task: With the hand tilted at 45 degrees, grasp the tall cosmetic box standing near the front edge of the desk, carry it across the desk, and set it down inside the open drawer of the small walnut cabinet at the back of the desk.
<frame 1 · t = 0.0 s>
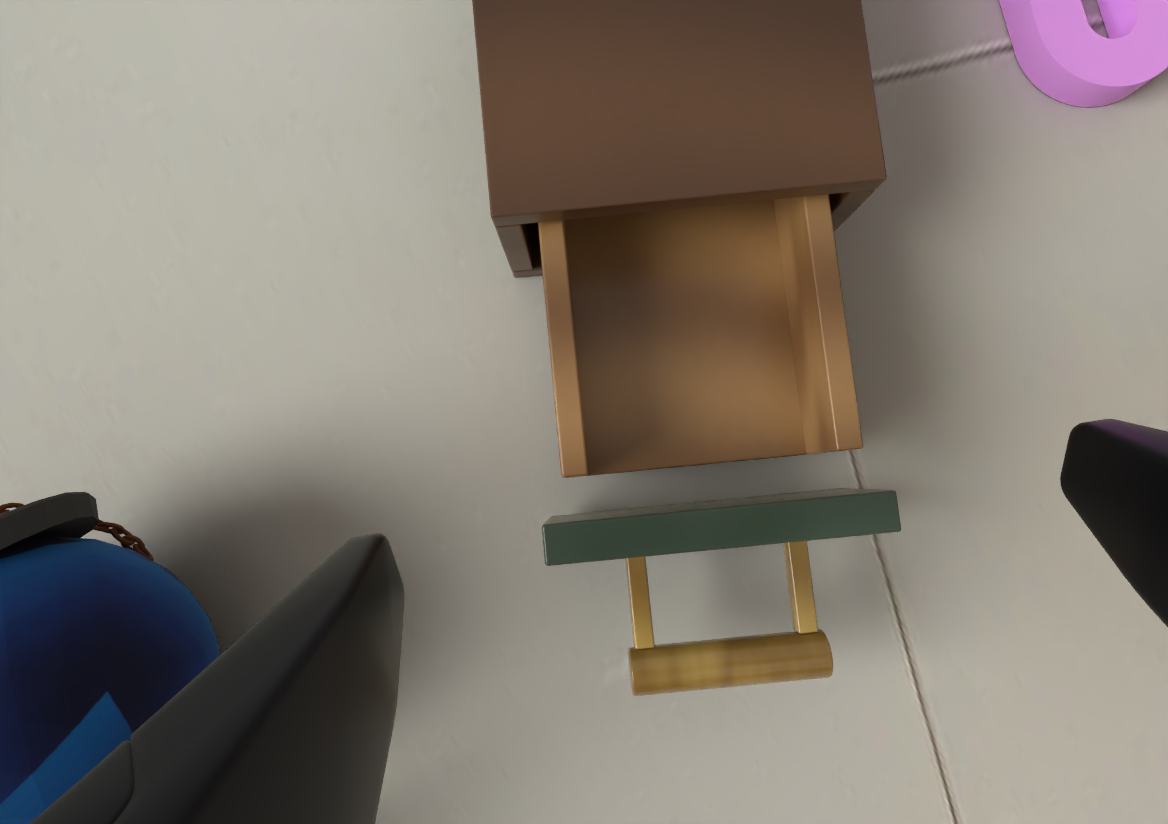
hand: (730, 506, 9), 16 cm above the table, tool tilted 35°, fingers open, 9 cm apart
drawer: (696, 415, 22), point 3 cm above the table, slide at 9.0 cm
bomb: (141, 646, 25), on the table
cabinet: (647, 94, 27), on the table
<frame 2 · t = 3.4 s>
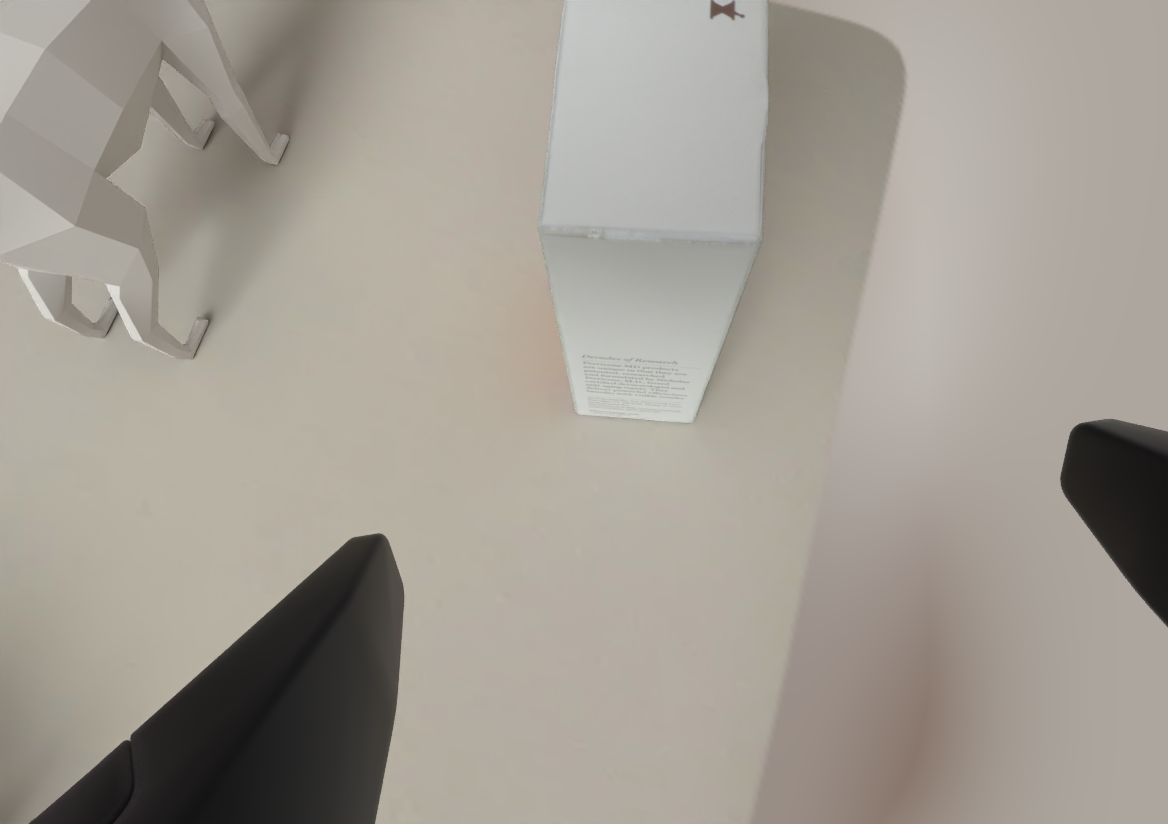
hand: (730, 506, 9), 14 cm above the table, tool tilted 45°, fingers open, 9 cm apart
cosmetic box: (638, 346, 24), on the table
cat figurine: (192, 255, 26), on the table
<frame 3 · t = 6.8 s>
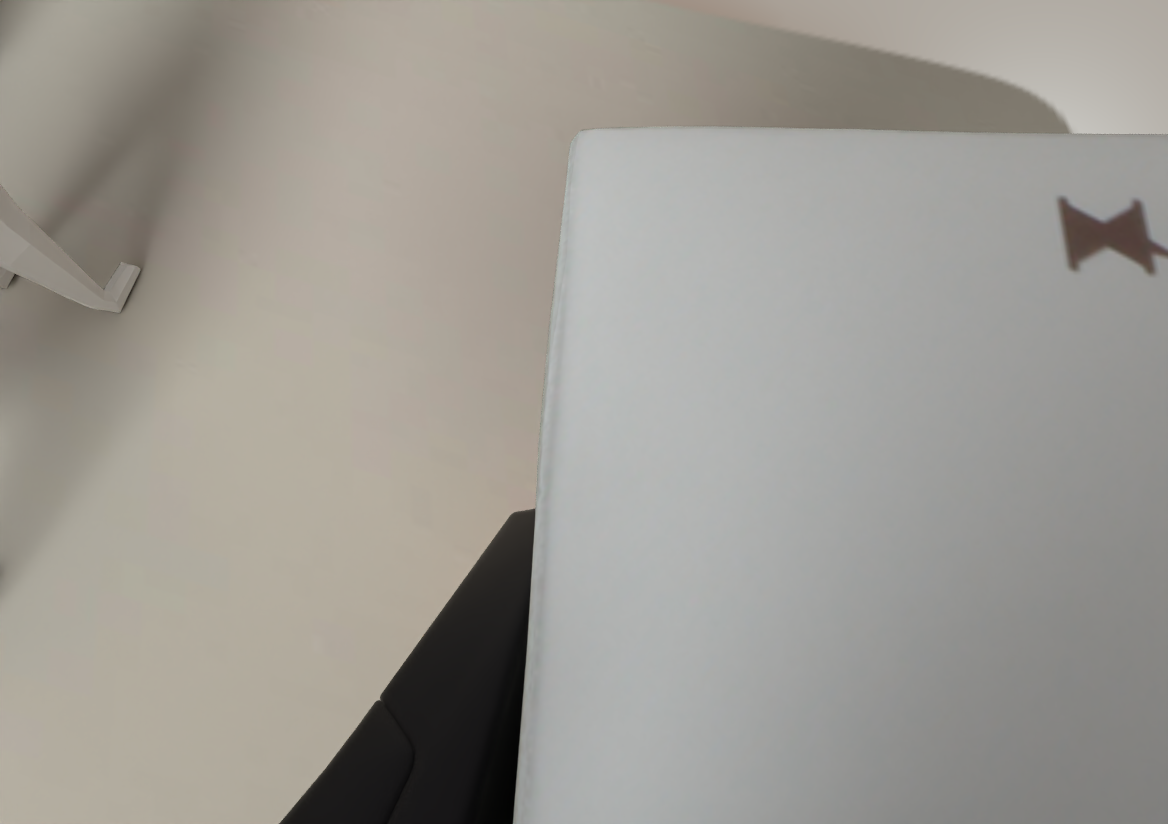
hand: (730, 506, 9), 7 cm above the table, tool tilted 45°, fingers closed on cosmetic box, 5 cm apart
cosmetic box: (690, 622, 15), on the table, touching gripper
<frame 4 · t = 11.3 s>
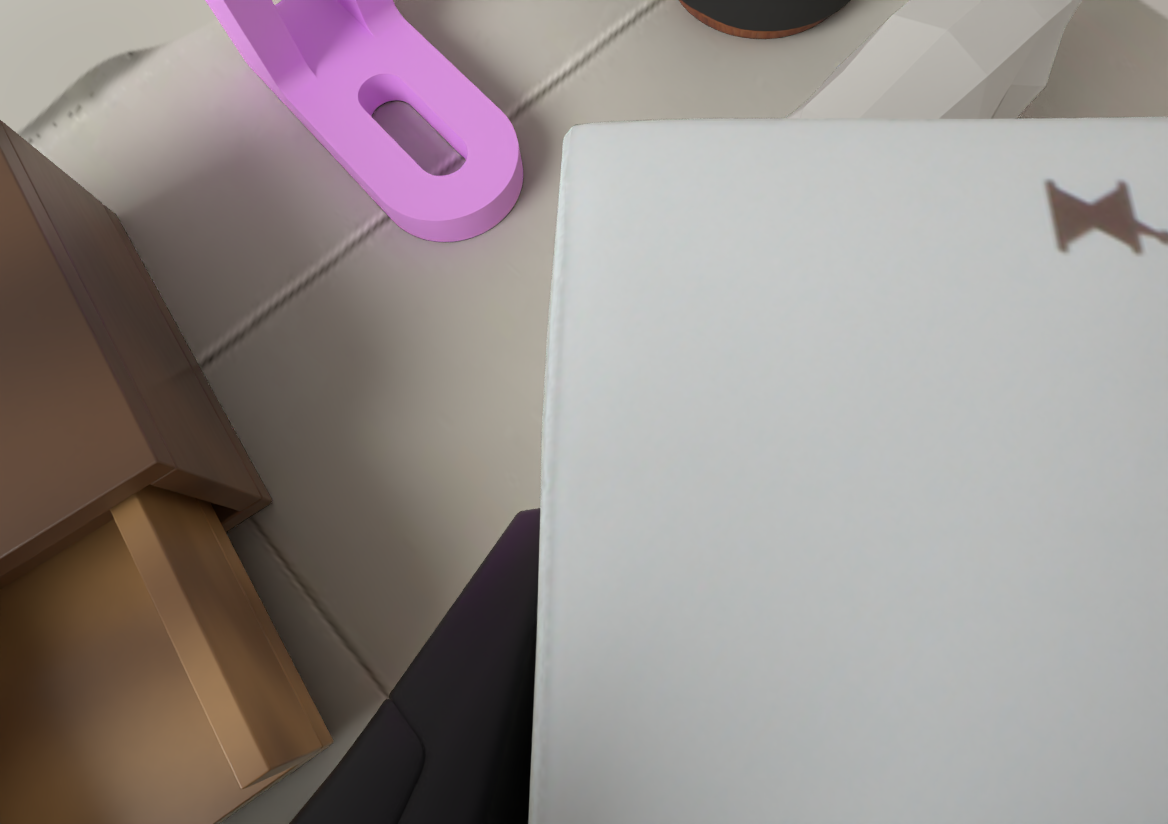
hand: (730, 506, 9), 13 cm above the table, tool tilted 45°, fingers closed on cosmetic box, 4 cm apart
drawer: (124, 805, 17), point 3 cm above the table, slide at 9.0 cm
cosmetic box: (688, 618, 15), point 6 cm above the table, touching gripper
cabinet: (40, 437, 24), on the table
bracket: (395, 123, 27), on the table
cat figurine: (805, 266, 25), on the table
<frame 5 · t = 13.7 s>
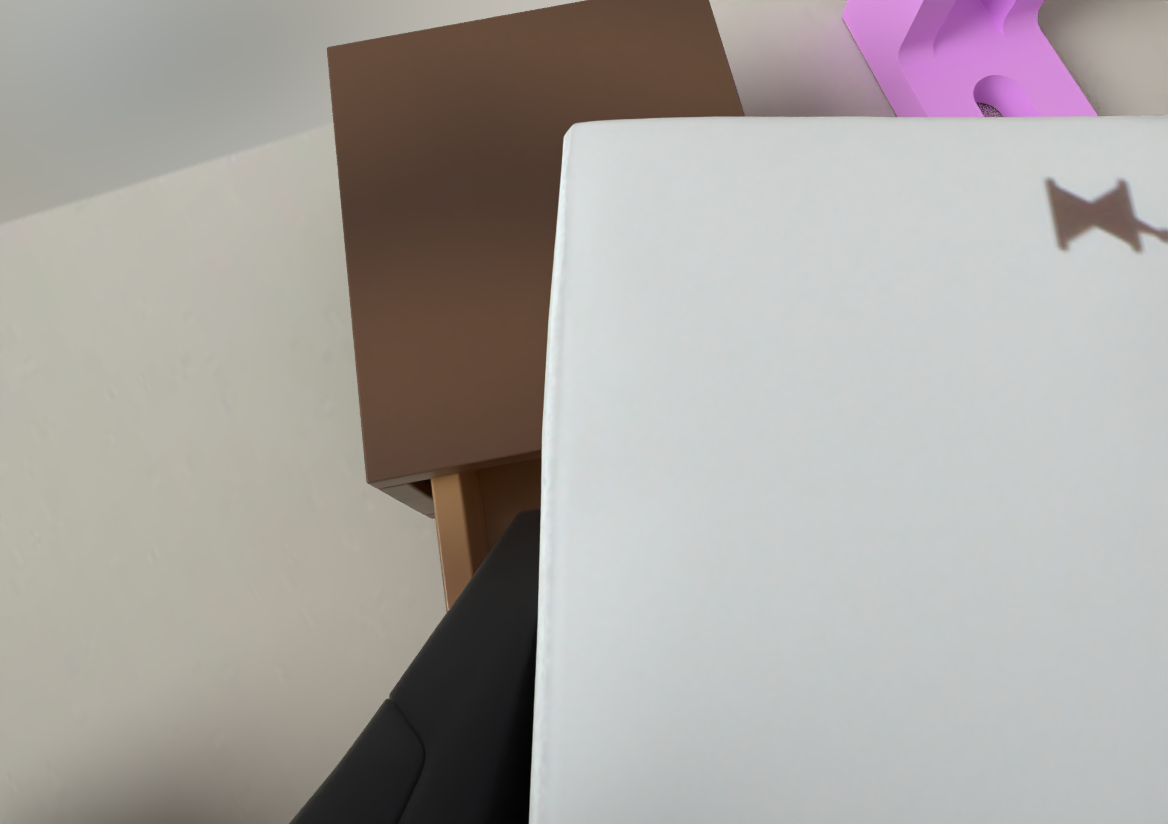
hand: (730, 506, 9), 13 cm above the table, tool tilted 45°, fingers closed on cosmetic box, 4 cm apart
drawer: (646, 691, 18), point 3 cm above the table, slide at 9.0 cm
cosmetic box: (688, 617, 15), point 6 cm above the table, touching gripper
cabinet: (567, 302, 24), on the table
bracket: (977, 126, 26), on the table
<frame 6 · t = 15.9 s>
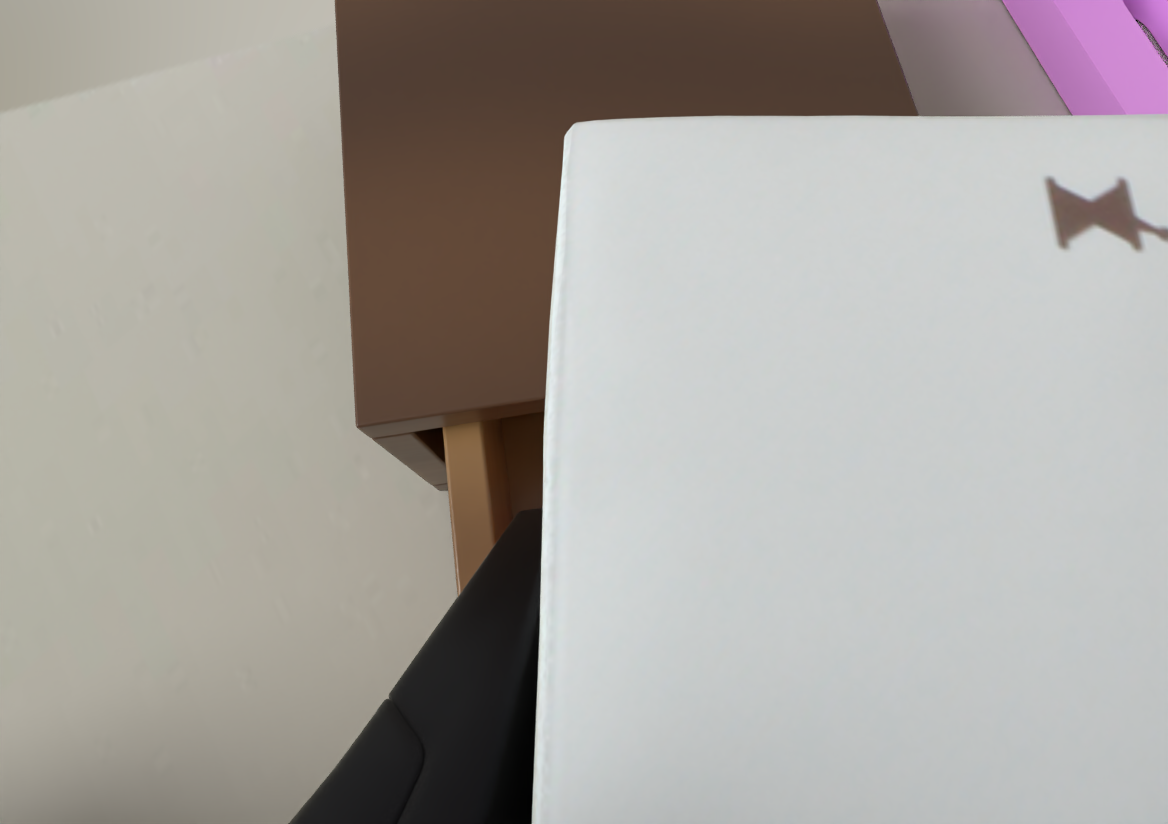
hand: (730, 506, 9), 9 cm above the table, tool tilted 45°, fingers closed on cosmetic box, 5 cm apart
drawer: (720, 713, 13), point 3 cm above the table, slide at 8.8 cm, touching cosmetic box
cosmetic box: (688, 617, 15), point 2 cm above the table, touching drawer, gripper
cabinet: (614, 234, 20), on the table
bracket: (1116, 42, 22), on the table
when the fingers open (9 cm above the table, at t = 15.9 s): cosmetic box stays where it is, resting on drawer.
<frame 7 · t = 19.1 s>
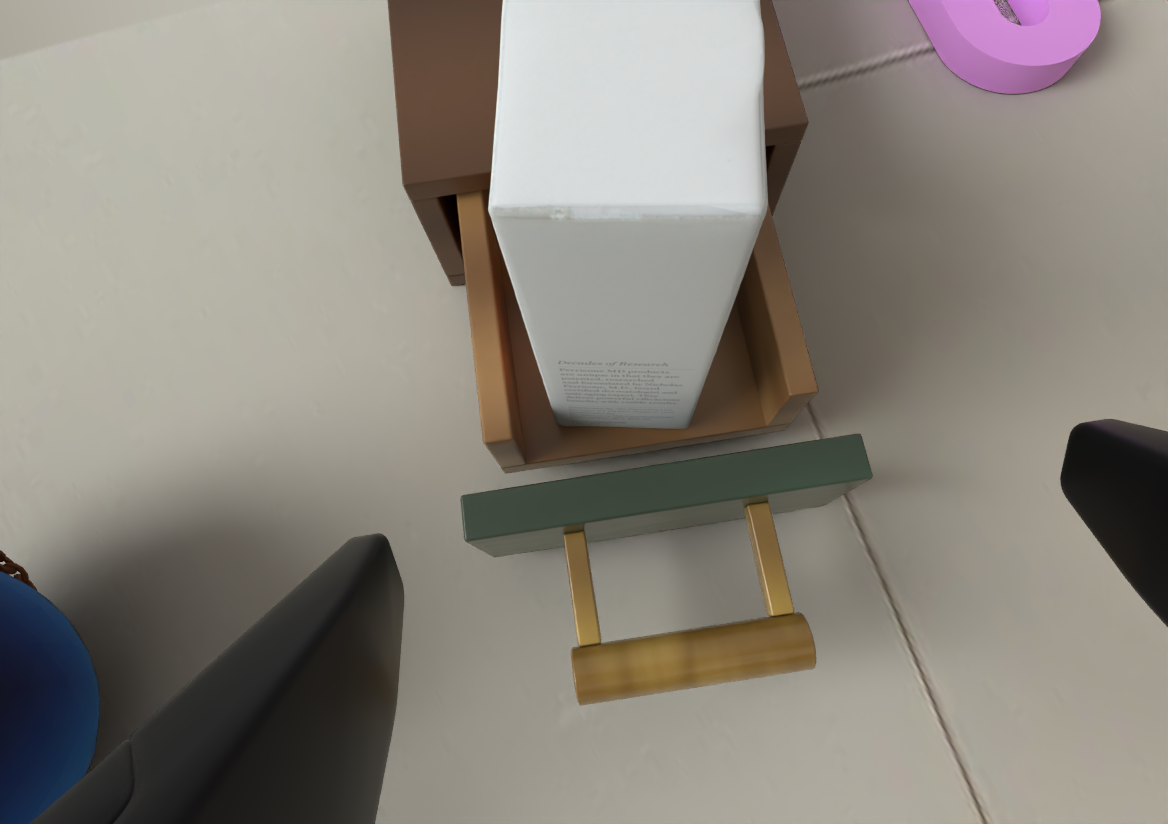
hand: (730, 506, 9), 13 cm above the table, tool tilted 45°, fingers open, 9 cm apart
drawer: (638, 385, 20), point 3 cm above the table, slide at 8.8 cm, touching cosmetic box
cosmetic box: (622, 346, 22), point 2 cm above the table, touching drawer
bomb: (22, 710, 21), on the table
cabinet: (580, 112, 27), on the table
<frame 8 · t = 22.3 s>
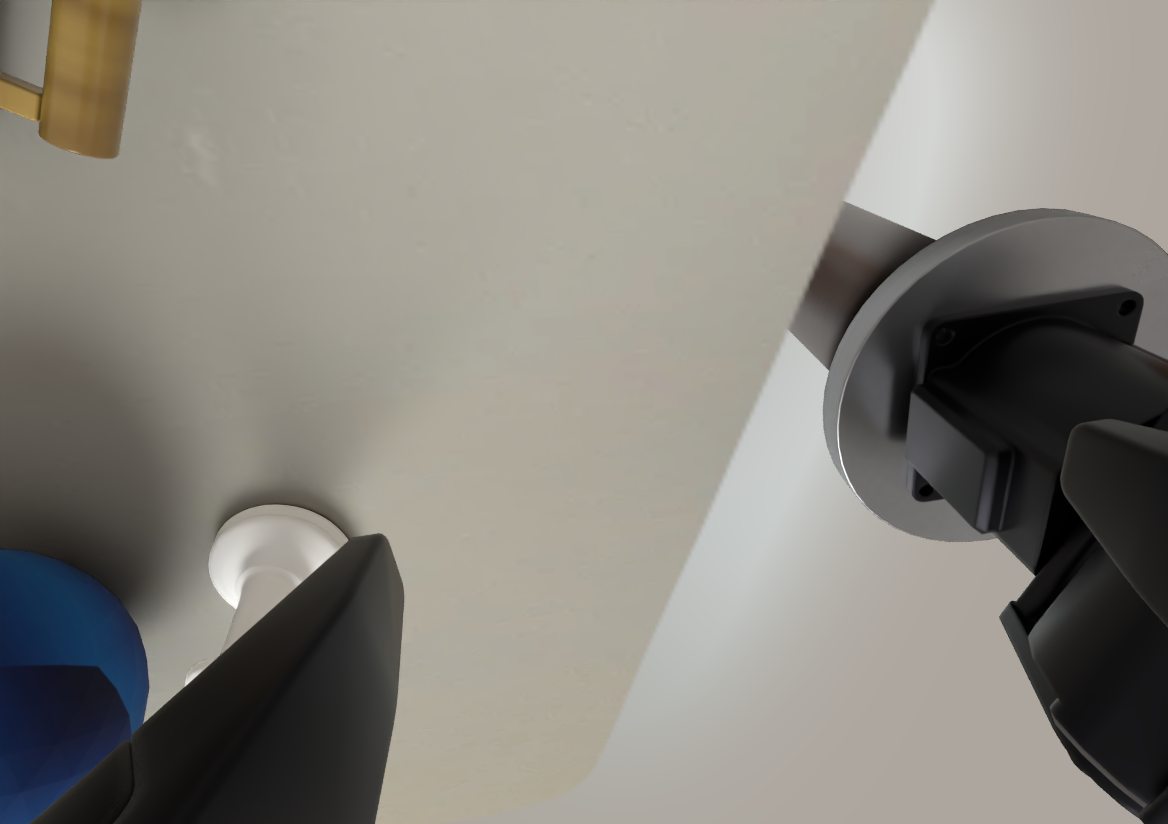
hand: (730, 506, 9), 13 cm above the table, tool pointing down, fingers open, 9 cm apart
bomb: (41, 595, 25), on the table
chess piece: (288, 557, 25), on the table
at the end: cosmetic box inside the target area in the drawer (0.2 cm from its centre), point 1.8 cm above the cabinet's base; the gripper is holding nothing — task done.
